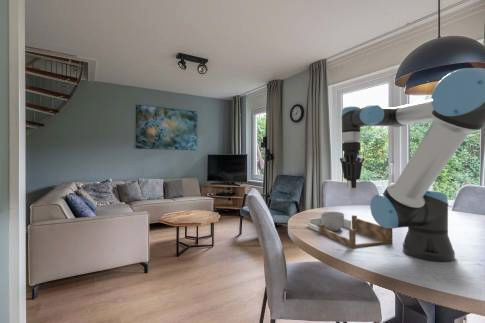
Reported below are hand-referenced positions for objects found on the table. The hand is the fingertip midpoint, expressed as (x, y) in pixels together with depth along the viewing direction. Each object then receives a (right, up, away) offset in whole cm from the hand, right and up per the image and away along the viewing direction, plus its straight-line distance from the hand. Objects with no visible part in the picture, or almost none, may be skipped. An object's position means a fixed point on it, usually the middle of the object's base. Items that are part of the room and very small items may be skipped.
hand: (351, 195), depth 112 cm
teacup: (-4, -19, +14) cm, 24 cm away
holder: (-5, -19, +17) cm, 25 cm away
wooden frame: (0, -19, -1) cm, 19 cm away
